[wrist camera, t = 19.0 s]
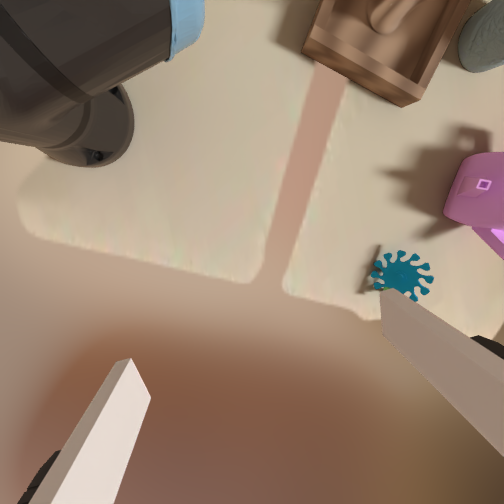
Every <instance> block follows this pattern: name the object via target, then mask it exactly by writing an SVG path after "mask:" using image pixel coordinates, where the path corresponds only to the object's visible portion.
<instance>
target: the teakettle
mask: <svg viewBox="0 0 504 504" xmlns="http://www.w3.org/2000/svg"><path fill="white" fill-rule="evenodd" d="M443 214H444V215H445V216H446V217H448V218H450V219H452V220H454V221H456V222H459V223H462V224H465V225H468V226H472V229H473V230H474V231H475V232H476V233H477V234H478V235H479V236H480V237H481V238H482V239H483V240H484V241H485V242H486V243H487V244H488V245H489V246H490V247H491V248H492V249H493V250H494V251H495V252H496V253H497V254H498V255H499V256H500V257H501V258H502V259H503V260H504V152H488V153H480V154H475V155H472V156H469V157H467V158H465V159H464V160H463V162H462V163H461V165H460V167H459V170H458V172H457V174H456V177H455V179H454V181H453V184H452V186H451V189H450V192H449V194H448V197H447V200H446V202H445V206H444V209H443Z"/></svg>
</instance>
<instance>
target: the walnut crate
mask: <svg viewBox="0 0 504 504" xmlns="http://www.w3.org/2000/svg"><path fill="white" fill-rule="evenodd" d="M368 1H369V0H320V3H319V5H318V8H317V11H316V13H315V16H314V19H313V21H312V24H311V27H310V29H309V32H308V35H307V37H306V40H305V43H304V46H303V48H302V51H301V53H303V54H305V55H307V56H308V57H310V58H312V59H314V60H316V61H318V62H319V63H321V64H323V65H325V66H327V67H329V68H330V69H332V70H334V71H336V72H338V73H339V74H341V75H343V76H345V77H347V78H349V79H350V80H352V81H354V82H356V83H358V84H359V85H361V86H363V87H365V88H367V89H369V90H370V91H372V92H374V93H376V94H378V95H379V96H381V97H383V98H385V99H387V100H389V101H390V102H392V103H394V104H396V105H398V106H399V107H401V108H402V107H405V106H407V105H409V104H412V103H414V102H417V101H419V100H421V98H422V96H423V94H424V92H425V90H426V88H427V86H428V84H429V82H430V80H431V78H432V76H433V74H434V72H435V70H436V68H437V66H438V64H439V62H440V60H441V58H442V57H443V55H444V53H445V51H446V49H447V47H448V45H449V43H450V41H451V39H452V37H453V35H454V33H455V31H456V29H457V27H458V25H459V23H460V21H461V19H462V17H463V15H464V13H465V11H466V9H467V7H468V5H469V3H470V1H471V0H427V1H425V2H424V3H422V4H421V5H419V6H418V7H416V8H415V9H414V10H413V11H412V12H411V13H410V14H409V15H408V16H407V18H406V19H405V20H404V22H403V23H402V24H401V25H400V26H399V27H398V28H397V29H396V30H395V31H393V32H391V33H389V34H381V33H378V32H376V31H375V30H374V29H373V28H372V27H371V25H370V23H369V21H368V17H367V6H368Z"/></svg>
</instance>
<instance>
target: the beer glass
mask: <svg viewBox="0 0 504 504" xmlns="http://www.w3.org/2000/svg"><path fill="white" fill-rule="evenodd" d="M425 1H427V0H369V1H368V6H367V17H368V21H369V23H370V25H371V27H372V28H373V29H374V30H375V31H376V32H378V33H381V34H389V33H391V32H393V31H395V30H396V29H397V28H398V27H399V26H400V25H401V24H402V23H403V22H404V20H405V19H406V18H407V16H408V15H409V14H410V13H411V12H412V11H413V10H414V9H415V8H416V7H418V6H419V5H421V4H422V3H424V2H425Z"/></svg>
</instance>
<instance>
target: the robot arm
mask: <svg viewBox="0 0 504 504" xmlns="http://www.w3.org/2000/svg"><path fill="white" fill-rule="evenodd" d="M204 16H205V6H204V0H0V141H2V142H8V143H15V144H20V145H26V146H33V147H36V148H37V149H39V150H41V151H42V152H44V153H45V154H47V155H49V156H50V157H52V158H54V159H56V160H58V161H60V162H63V163H65V164H68V165H72V166H78V167H89V168H94V167H102V166H105V165H108V164H110V163H113V162H114V161H116V160H117V159H119V158H120V157H121V156H122V155H123V154H124V153H125V151H126V150H127V148H128V147H129V145H130V142H131V140H132V137H133V132H134V114H133V109H132V105H131V102H130V99H129V97H128V94H127V92H126V91H125V89H124V87H123V86H122V84H121V83H123V82H125V81H127V80H129V79H130V78H132V77H134V76H136V75H138V74H140V73H142V72H143V71H145V70H147V69H149V68H151V67H153V66H155V65H156V64H158V63H160V62H162V61H165V62H169V61H171V60H172V58H173V57H174V55H175V54H177V53H178V52H180V51H182V50H183V49H185V48H187V47H188V46H190V45H191V44H193V43H194V42H196V40H197V39H198V38H199V36H200V33H201V30H202V28H203V25H204ZM379 293H380V306H381V320H382V333H383V336H384V337H385V338H386V339H387V340H388V341H389V342H390V343H391V344H392V345H393V346H394V347H395V348H396V349H397V350H398V351H399V352H400V353H401V354H402V355H403V356H404V357H405V358H406V359H407V360H408V361H409V362H410V363H411V364H412V365H413V366H414V367H415V368H416V369H417V370H418V371H419V372H420V373H421V374H422V375H423V376H424V377H425V378H426V379H427V380H428V381H429V382H430V383H431V384H432V385H433V386H434V387H435V388H436V389H437V390H438V391H439V392H440V393H441V394H442V395H443V396H444V397H445V398H446V399H447V400H448V401H449V402H450V403H451V404H452V405H453V406H454V407H455V408H456V409H457V410H458V411H459V412H460V413H461V414H462V415H463V416H464V417H465V418H466V419H467V420H468V421H469V422H470V423H471V424H472V425H473V426H474V427H475V428H476V429H477V430H478V431H479V433H480V434H482V435H483V437H485V438H486V440H487V441H488V442H489V443H490V444H491V445H492V446H493V447H494V448H496V450H498V452H499V453H500V454H501V455H502V456H503V457H504V346H503V345H501V344H499V343H498V342H495V341H492V340H490V339H487V338H484V337H482V336H479V335H478V336H474V337H470V338H469V337H468V336H466V335H465V334H463V333H462V332H460V331H459V330H457V329H456V328H454V327H453V326H451V325H449V324H448V323H446V322H445V321H443V320H442V319H440V318H439V317H437V316H436V315H434V314H433V313H431V312H430V311H428V310H427V309H425V308H423V307H422V306H420V305H419V304H417V303H416V302H414V301H413V300H411V299H410V298H408V297H407V296H405V295H404V294H402V293H401V292H399V291H397V290H396V289H394V288H391V289H388V290H384V291H380V292H379ZM150 399H151V397H150V395H149V393H148V391H147V389H146V387H145V385H144V383H143V381H142V379H141V377H140V375H139V373H138V371H137V369H136V367H135V365H134V363H133V361H132V359H131V358H129V359H125V360H121V361H118V362H116V363H115V365H114V366H113V368H112V369H111V371H110V373H109V374H108V376H107V378H106V379H105V381H104V383H103V384H102V386H101V387H100V389H99V390H98V392H97V394H96V395H95V397H94V399H93V400H92V402H91V403H90V405H89V407H88V408H87V410H86V411H85V413H84V415H83V416H82V418H81V420H80V421H79V423H78V424H77V426H76V428H75V429H74V431H73V433H72V434H71V436H70V437H69V439H68V441H67V442H66V444H65V445H64V447H63V449H62V450H59V451H56V452H55V453H54V454H53V455H52V456H51V457H50V458H49V460H48V461H47V462H46V463H45V464H44V465H43V466H42V467H41V468H40V470H39V471H38V473H37V474H36V476H35V477H34V479H33V480H32V482H31V483H30V485H29V486H28V488H27V492H24V494H23V496H22V497H21V499H20V500H19V502H18V503H17V504H113V503H114V500H115V497H116V494H117V492H118V489H119V486H120V483H121V480H122V478H123V475H124V472H125V469H126V466H127V464H128V461H129V458H130V455H131V452H132V450H133V447H134V444H135V441H136V438H137V436H138V433H139V430H140V427H141V424H142V422H143V419H144V416H145V413H146V410H147V408H148V405H149V402H150Z"/></svg>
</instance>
